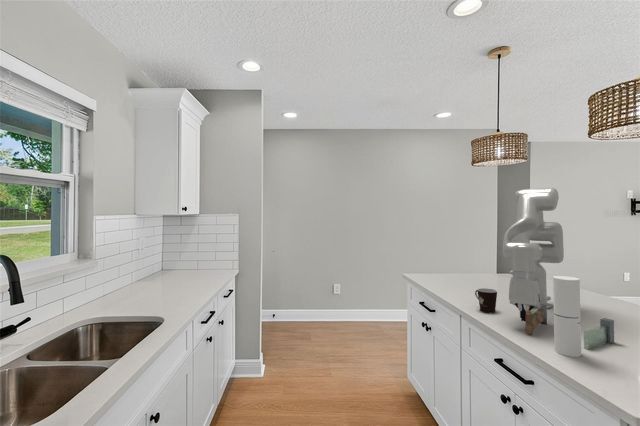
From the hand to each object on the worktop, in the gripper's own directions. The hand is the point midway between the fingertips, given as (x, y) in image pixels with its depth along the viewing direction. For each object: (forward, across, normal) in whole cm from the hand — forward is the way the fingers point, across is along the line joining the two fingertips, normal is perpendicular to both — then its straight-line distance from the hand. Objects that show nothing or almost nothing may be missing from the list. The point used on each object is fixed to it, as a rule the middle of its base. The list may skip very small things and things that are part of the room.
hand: (524, 320), depth 130 cm
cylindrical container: (+4, +16, -13) cm, 22 cm away
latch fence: (+4, +22, +1) cm, 23 cm away
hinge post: (+4, -1, +15) cm, 15 cm away
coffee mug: (+4, -21, +17) cm, 27 cm away
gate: (+3, +3, +3) cm, 5 cm away
